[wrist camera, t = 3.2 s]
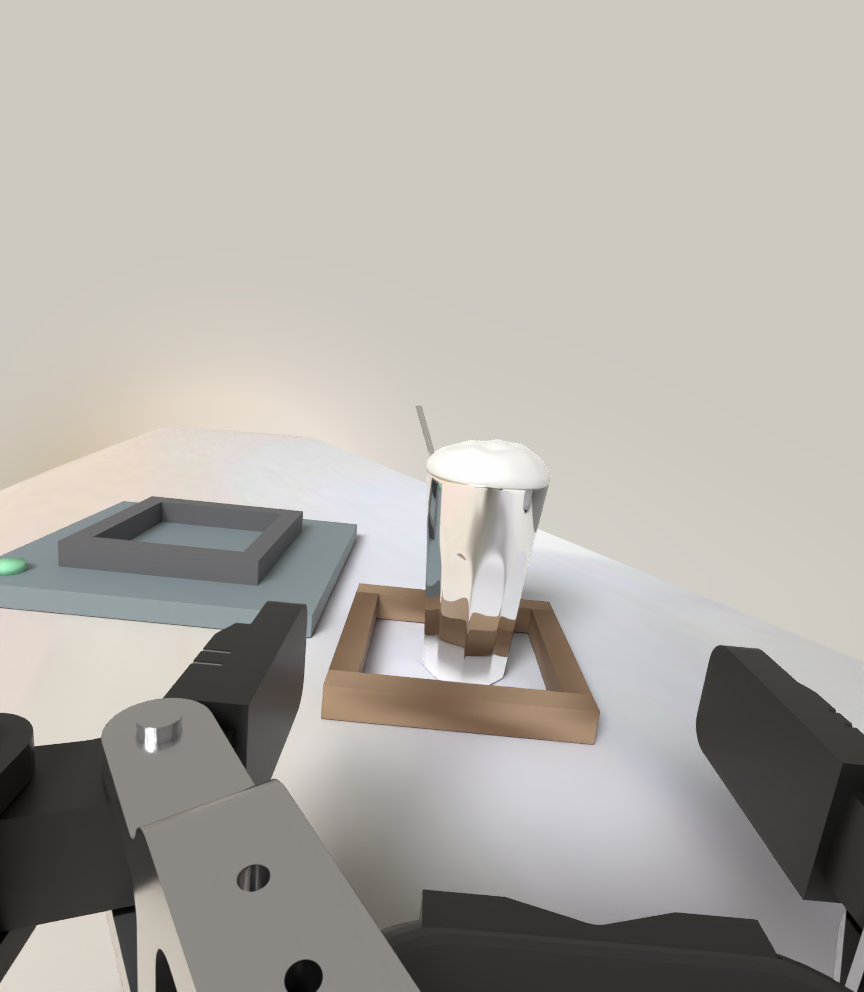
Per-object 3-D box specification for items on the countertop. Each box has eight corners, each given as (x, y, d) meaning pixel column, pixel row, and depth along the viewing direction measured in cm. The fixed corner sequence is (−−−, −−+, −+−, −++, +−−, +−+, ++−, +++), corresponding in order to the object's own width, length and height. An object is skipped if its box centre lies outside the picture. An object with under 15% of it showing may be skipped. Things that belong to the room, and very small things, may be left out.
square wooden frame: (545, 625, 28) (549, 602, 28) (593, 744, 20) (599, 712, 19) (357, 607, 28) (359, 583, 28) (321, 718, 19) (323, 685, 19)
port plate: (356, 539, 38) (358, 506, 38) (310, 637, 25) (313, 588, 24) (124, 516, 38) (123, 482, 38) (-51, 602, 25) (-55, 551, 24)
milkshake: (419, 625, 27) (442, 404, 25) (533, 660, 25) (570, 421, 23) (367, 667, 23) (389, 407, 21) (499, 712, 21) (539, 428, 19)
